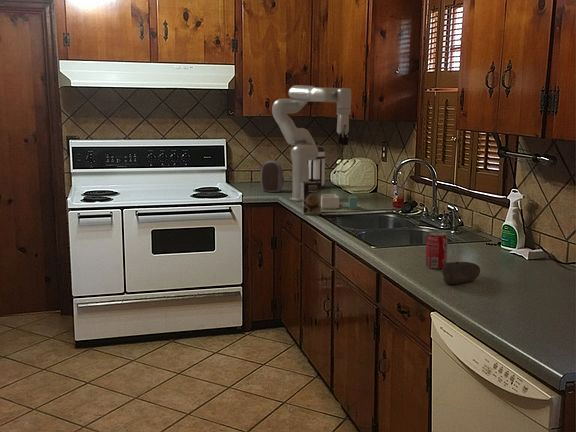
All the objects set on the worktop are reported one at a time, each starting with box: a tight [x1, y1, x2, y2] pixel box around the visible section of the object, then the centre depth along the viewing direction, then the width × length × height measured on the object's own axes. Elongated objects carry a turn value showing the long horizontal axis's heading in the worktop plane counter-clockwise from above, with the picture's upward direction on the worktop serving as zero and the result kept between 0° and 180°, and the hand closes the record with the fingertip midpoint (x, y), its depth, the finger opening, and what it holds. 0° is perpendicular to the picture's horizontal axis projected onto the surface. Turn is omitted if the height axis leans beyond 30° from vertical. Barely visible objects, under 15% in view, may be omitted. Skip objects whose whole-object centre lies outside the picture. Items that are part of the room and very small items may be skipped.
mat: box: [339, 202, 365, 210], centre depth 329 cm, size 18×12×1 cm, turn 5°
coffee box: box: [299, 182, 322, 216], centre depth 307 cm, size 9×6×16 cm
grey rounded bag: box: [260, 159, 285, 193], centre depth 379 cm, size 15×8×20 cm, turn 72°
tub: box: [321, 193, 340, 210], centre depth 328 cm, size 12×9×6 cm
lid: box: [339, 196, 362, 209], centre depth 327 cm, size 15×10×6 cm, turn 5°
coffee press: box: [307, 141, 326, 190], centre depth 394 cm, size 17×16×30 cm
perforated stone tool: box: [442, 261, 481, 285], centre depth 192 cm, size 15×5×7 cm, turn 113°
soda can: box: [425, 231, 448, 270], centre depth 209 cm, size 7×7×12 cm
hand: (342, 144), depth 326 cm, fingers open, 9 cm apart
